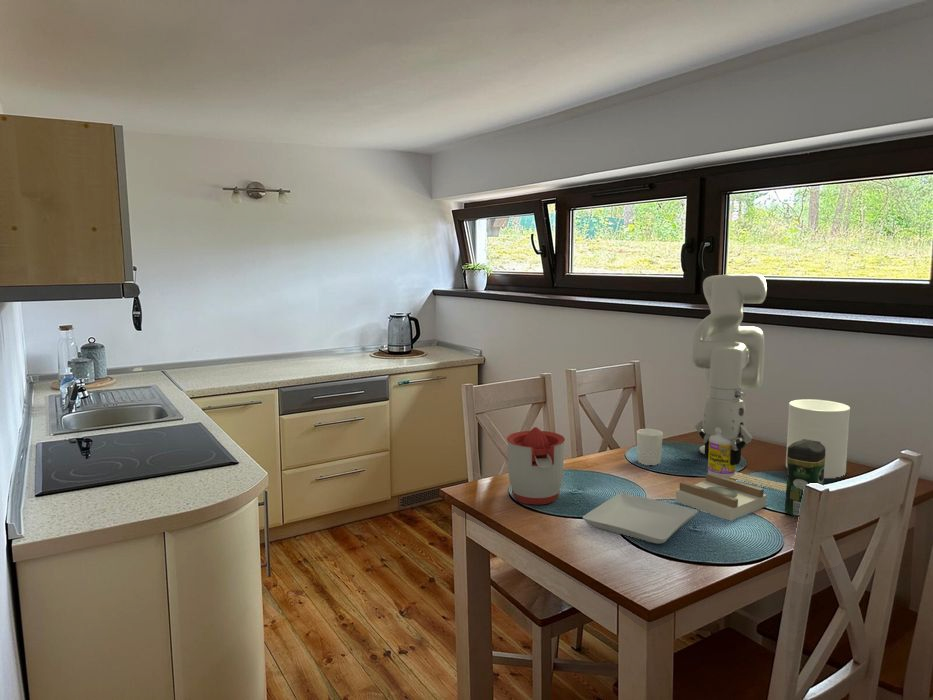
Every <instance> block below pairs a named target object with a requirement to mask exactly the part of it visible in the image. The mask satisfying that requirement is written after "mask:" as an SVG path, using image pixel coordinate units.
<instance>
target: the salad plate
mask: <svg viewBox="0 0 933 700" xmlns="http://www.w3.org/2000/svg"><path fill="white" fill-rule="evenodd" d="M698 513H699V510H697V509H694V508H691V507H688V506H683V505H682V506H681V505H678V504H673V503H670V502H665V501H661V500H657V499H652V498H647V497H644V496H643V497H642V496H640V495H639V496H638V495H633V494H629V493H623V492H620V493H618V494H615V495H614V496H612V497H611V498H609V499H608V500H606V501H605V502H603V503H602V504H600V505H598V506H596V507H595V508H593V509H592V510H590V511H589V512H587V513H585V514H584V515H583V516H582V519H583V521H584V522H585V523H586V524H588V525H590V526H592V527H594V528H598V529H600V530H604V531H609V532H610V533H611V532H612V533H615V534H619V535H622V534H623V535H622V536H625V535H626V536H625V537H629V536H630V537H629V538H632V537H634V538H633V539H636V538H637V539H636V540H640V539H641V541H644V540H645V542H647V543H653V544H663V543H665V542H666V541H668V539H669V538H670V537H671V536H672V535H673V534H674V533H675V532H676V531H677V530H679V529H680V528H681V527H683V526H684V525H685V524H686V523H688V522H689V521H690V520H692V519H693V518H695V516H696V515H697V514H698Z"/></svg>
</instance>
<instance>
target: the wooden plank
mask: <svg viewBox="0 0 933 700" xmlns="http://www.w3.org/2000/svg"><path fill="white" fill-rule="evenodd" d="M725 478H728V479H732V480H735V481H736V480H741V481H744V482H748V483H752V484H755V485H760V486H764V487H768V488H772V489H776V490H782V491H786V484H787V483H784V482H779V481H774V480H771V479H766V478H762V477H759V476H754V475H749V474H746V473H741V472H736V471H735V474H734V475H733V476H732V477H725ZM755 485H754V486H755Z"/></svg>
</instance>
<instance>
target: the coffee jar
mask: <svg viewBox="0 0 933 700" xmlns="http://www.w3.org/2000/svg"><path fill="white" fill-rule="evenodd" d="M824 466H825V447H824V445H822V444H821V443H820V442H819V441H813V440H807V439H803V440H801V441H797V442H795V443H793V444H791V445H790V446H789V447H788V453H787V468H786V483H785V484H786V493H785V500H784V511H785V513H786V514H788V515H790V516H792V517H794V518H796V519H799V518H798V514H799V508H800V503H801V499H802V495H803V489H804V486H805V485H806V484H809V483H819V484H823V485H825V484H824V482H825V481H824V480H825V478H824Z"/></svg>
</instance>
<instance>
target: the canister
mask: <svg viewBox="0 0 933 700" xmlns="http://www.w3.org/2000/svg"><path fill="white" fill-rule="evenodd" d="M850 413H851V407H850V406H849V405H847V404H845V403H841V402H837V401H831V400H823V399H808V398H807V399H795V400H791V401H790V402H788V416H787V417H788V420H787V432H786V433H787V434H786V435H787V437H786V453H785V455H786V456H785V457H786V458H785V467H786V469H787V453H788V447H789V446H790V445H791V444H793V443H795V442H797V441H801V440H803V439H807V440H813V441H819V442H820V443H821V444H822V445H824V447H825V466H824V479H837V478H836V477H839V478H842V477H844V476H845V475H846V472H847V456H848V447H849V446H848V445H849V429H850V425H849V423H850V416H851V415H850ZM843 475H844V476H843ZM841 476H842V477H841Z"/></svg>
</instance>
